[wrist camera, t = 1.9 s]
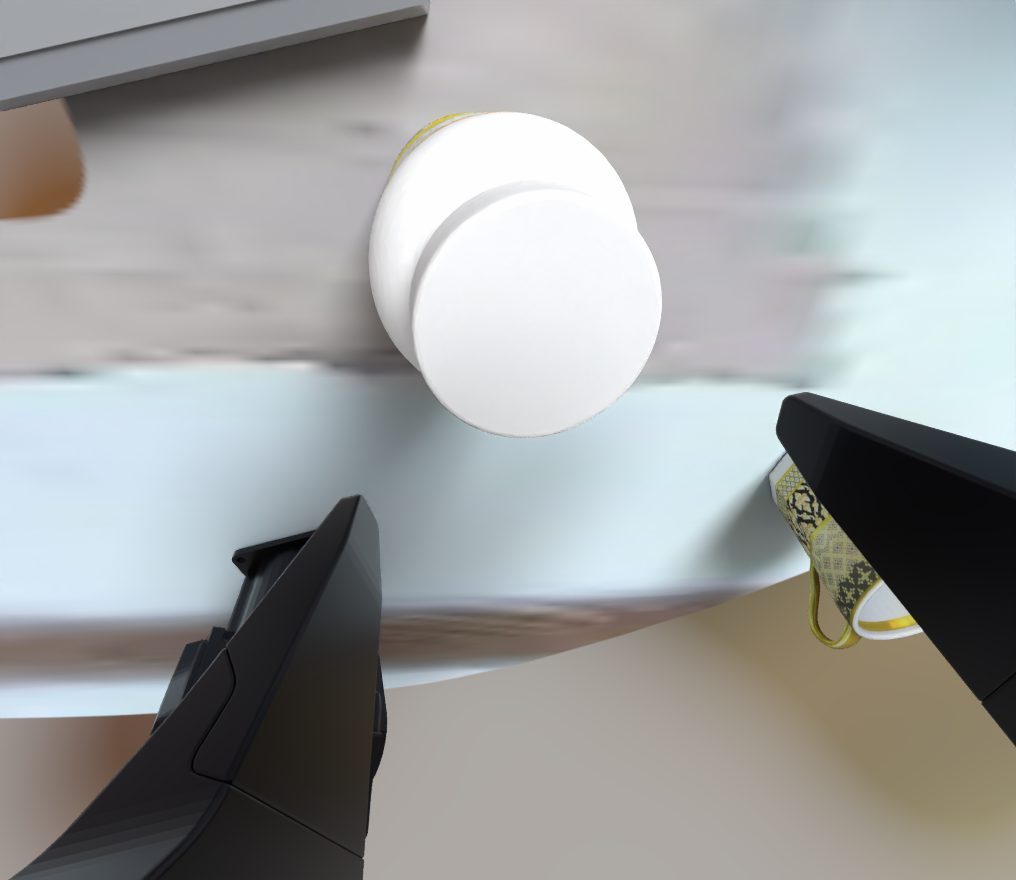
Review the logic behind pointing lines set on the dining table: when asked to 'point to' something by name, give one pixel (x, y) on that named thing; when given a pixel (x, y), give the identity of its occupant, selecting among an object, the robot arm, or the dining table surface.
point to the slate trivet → (158, 37)
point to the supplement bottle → (513, 272)
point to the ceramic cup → (837, 567)
